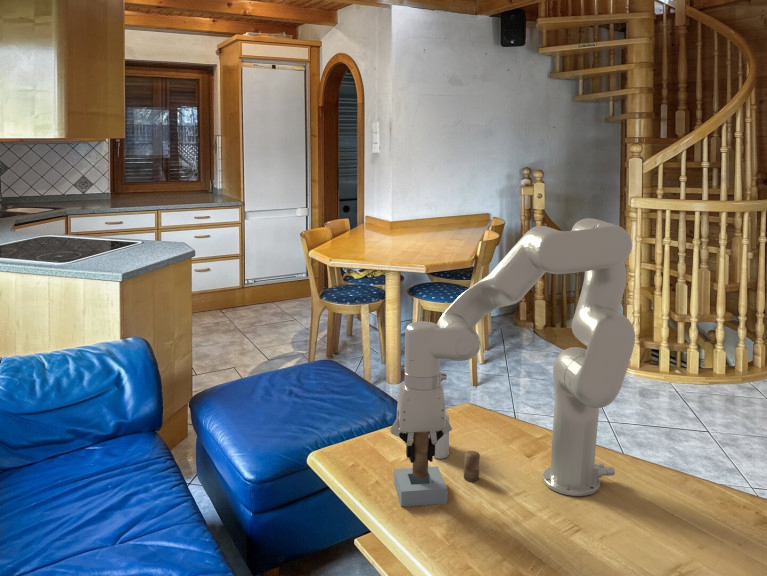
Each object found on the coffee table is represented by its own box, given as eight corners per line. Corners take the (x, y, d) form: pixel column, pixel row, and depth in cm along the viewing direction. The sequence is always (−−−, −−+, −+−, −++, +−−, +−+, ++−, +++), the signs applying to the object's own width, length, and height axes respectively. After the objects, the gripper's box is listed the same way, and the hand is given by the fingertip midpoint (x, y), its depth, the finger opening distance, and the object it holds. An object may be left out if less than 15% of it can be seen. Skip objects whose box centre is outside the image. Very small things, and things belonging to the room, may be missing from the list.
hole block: (437, 480, 156) (437, 466, 155) (447, 503, 146) (447, 488, 146) (394, 483, 155) (394, 469, 154) (401, 506, 145) (401, 491, 144)
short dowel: (475, 473, 159) (477, 450, 158) (480, 481, 156) (481, 457, 154) (461, 474, 158) (463, 451, 157) (466, 482, 155) (467, 458, 154)
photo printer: (422, 442, 175) (423, 396, 173) (438, 440, 176) (439, 395, 174) (433, 460, 166) (434, 412, 163) (450, 458, 167) (452, 411, 164)
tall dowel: (426, 470, 151) (427, 419, 149) (429, 477, 148) (430, 426, 145) (411, 471, 151) (412, 420, 148) (413, 478, 148) (414, 427, 145)
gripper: (455, 372, 149) (453, 449, 154) (381, 375, 147) (380, 453, 151) (464, 384, 142) (461, 465, 146) (386, 388, 140) (385, 470, 144)
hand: (420, 458), depth 149 cm, fingers closed on tall dowel, 3 cm apart
